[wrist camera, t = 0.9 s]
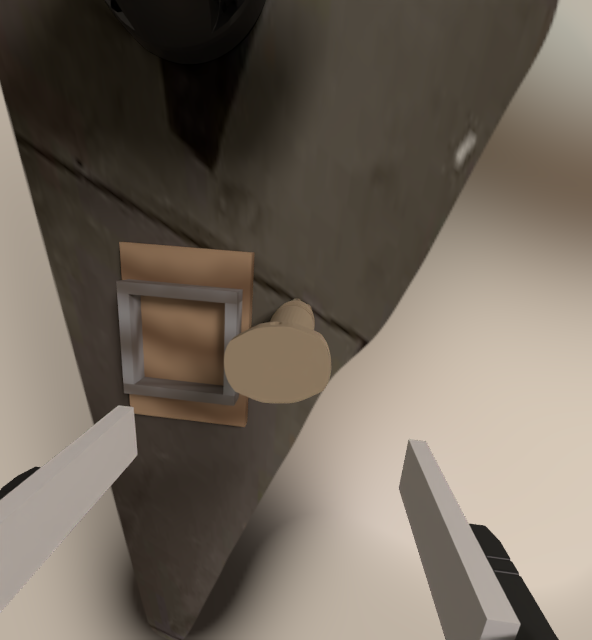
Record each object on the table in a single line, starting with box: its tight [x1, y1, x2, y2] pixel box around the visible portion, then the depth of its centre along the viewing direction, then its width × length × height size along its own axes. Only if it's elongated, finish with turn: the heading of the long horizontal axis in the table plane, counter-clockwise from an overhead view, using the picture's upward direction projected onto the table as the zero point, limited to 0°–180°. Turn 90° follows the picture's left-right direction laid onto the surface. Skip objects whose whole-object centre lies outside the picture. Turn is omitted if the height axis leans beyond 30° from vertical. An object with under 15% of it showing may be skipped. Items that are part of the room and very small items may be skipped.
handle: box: [224, 299, 331, 403], centre depth 25 cm, size 5×6×15 cm
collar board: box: [116, 242, 254, 427], centre depth 32 cm, size 20×14×3 cm
